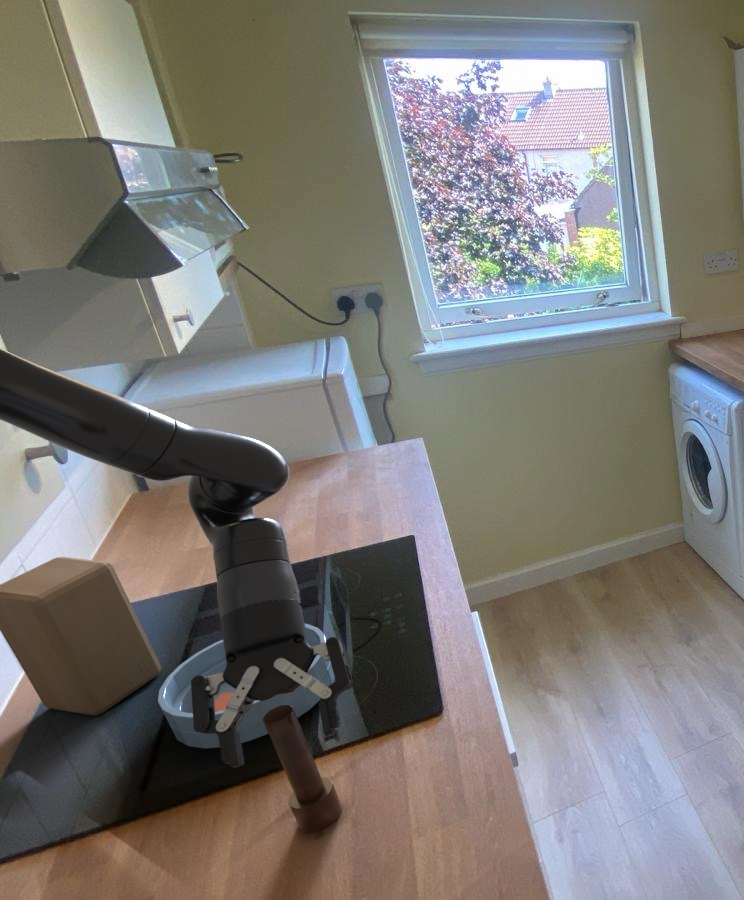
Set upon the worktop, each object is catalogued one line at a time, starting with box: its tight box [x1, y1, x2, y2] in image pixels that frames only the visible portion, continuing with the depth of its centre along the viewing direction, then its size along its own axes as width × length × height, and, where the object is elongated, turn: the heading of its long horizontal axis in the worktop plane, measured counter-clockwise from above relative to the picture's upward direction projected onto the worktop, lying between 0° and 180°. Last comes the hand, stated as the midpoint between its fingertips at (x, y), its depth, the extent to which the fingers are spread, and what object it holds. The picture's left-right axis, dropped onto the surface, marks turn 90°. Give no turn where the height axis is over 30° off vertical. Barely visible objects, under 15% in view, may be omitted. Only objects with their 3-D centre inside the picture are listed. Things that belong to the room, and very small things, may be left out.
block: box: [214, 693, 248, 712], centre depth 100 cm, size 4×4×4 cm
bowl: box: [157, 623, 335, 749], centre depth 104 cm, size 19×19×6 cm
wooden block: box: [0, 556, 163, 717], centre depth 103 cm, size 10×10×20 cm
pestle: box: [263, 705, 343, 834], centre depth 83 cm, size 4×4×16 cm
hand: (285, 750), depth 79 cm, fingers open, 8 cm apart
